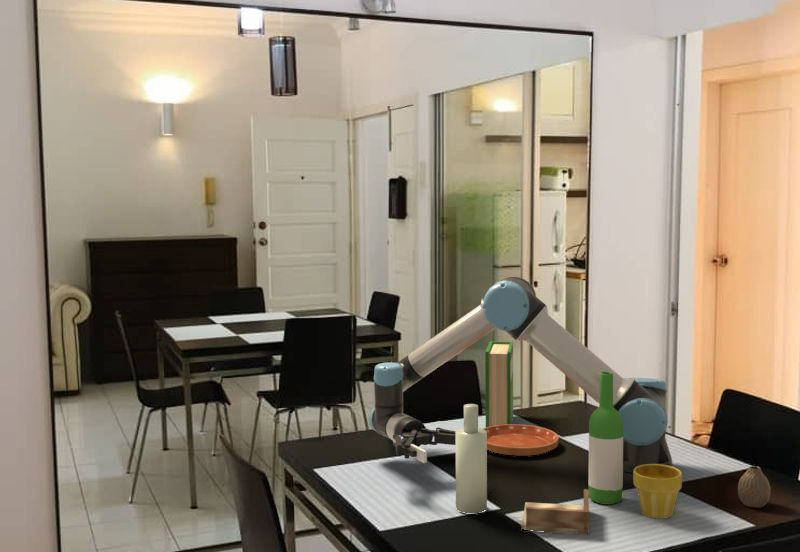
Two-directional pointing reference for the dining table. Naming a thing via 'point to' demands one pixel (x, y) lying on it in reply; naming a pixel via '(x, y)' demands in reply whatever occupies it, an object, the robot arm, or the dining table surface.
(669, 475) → the plant pot
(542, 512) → the dock
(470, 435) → the bottle
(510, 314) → the robot arm
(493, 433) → the saucer
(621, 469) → the wine bottle
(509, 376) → the hardback book
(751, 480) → the vase
